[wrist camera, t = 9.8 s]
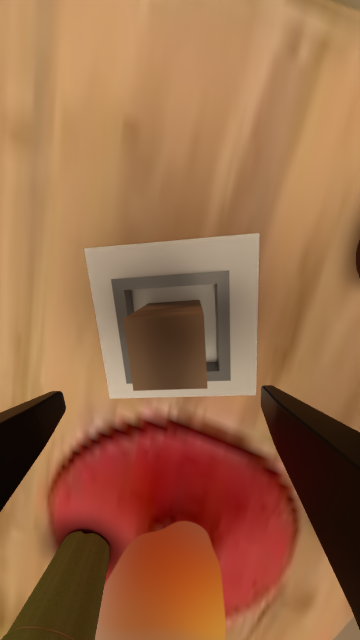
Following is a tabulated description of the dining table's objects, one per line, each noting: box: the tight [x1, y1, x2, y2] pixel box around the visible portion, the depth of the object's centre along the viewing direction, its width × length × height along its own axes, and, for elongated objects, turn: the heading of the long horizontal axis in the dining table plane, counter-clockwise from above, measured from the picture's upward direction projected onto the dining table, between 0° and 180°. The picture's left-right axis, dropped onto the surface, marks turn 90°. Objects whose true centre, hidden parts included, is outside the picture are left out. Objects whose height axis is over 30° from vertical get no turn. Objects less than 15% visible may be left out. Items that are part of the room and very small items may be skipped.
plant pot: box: [1, 531, 110, 640], centre depth 23 cm, size 12×12×11 cm
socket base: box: [84, 233, 259, 399], centre depth 18 cm, size 16×16×3 cm
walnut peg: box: [123, 300, 207, 391], centre depth 16 cm, size 5×5×7 cm
